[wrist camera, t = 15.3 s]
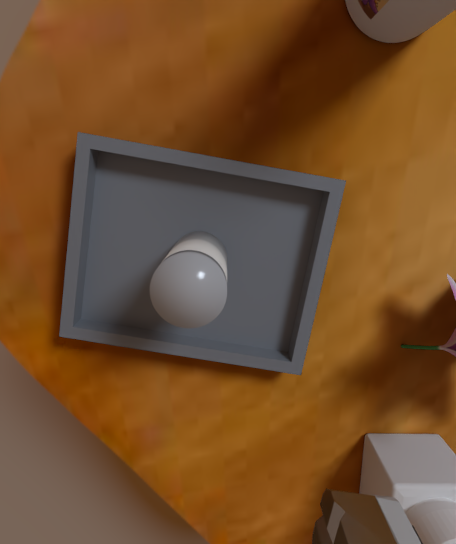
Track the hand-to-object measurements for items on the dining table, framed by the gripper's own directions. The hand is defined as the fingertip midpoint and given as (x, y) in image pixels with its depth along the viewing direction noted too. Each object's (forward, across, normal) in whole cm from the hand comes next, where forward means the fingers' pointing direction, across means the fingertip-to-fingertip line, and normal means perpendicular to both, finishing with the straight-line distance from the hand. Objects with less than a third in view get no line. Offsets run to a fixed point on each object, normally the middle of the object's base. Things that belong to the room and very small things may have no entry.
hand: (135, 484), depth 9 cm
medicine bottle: (+28, -22, +17) cm, 39 cm away
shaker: (+26, 0, 0) cm, 26 cm away
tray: (+27, 0, 0) cm, 27 cm away
